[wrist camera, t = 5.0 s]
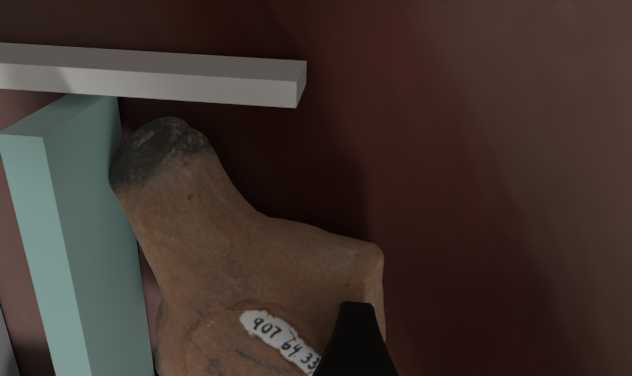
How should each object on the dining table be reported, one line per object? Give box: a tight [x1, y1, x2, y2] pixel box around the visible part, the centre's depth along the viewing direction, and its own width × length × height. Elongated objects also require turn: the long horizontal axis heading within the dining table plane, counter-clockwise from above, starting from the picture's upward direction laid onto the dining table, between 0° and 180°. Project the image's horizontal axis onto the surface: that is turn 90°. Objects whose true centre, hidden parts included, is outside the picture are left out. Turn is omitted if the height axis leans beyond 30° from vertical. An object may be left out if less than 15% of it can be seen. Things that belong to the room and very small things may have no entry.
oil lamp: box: [108, 116, 386, 376], centre depth 15 cm, size 9×4×8 cm
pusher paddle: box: [0, 93, 155, 376], centre depth 15 cm, size 1×11×4 cm, turn 177°
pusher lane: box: [0, 42, 307, 376], centre depth 15 cm, size 11×13×4 cm
